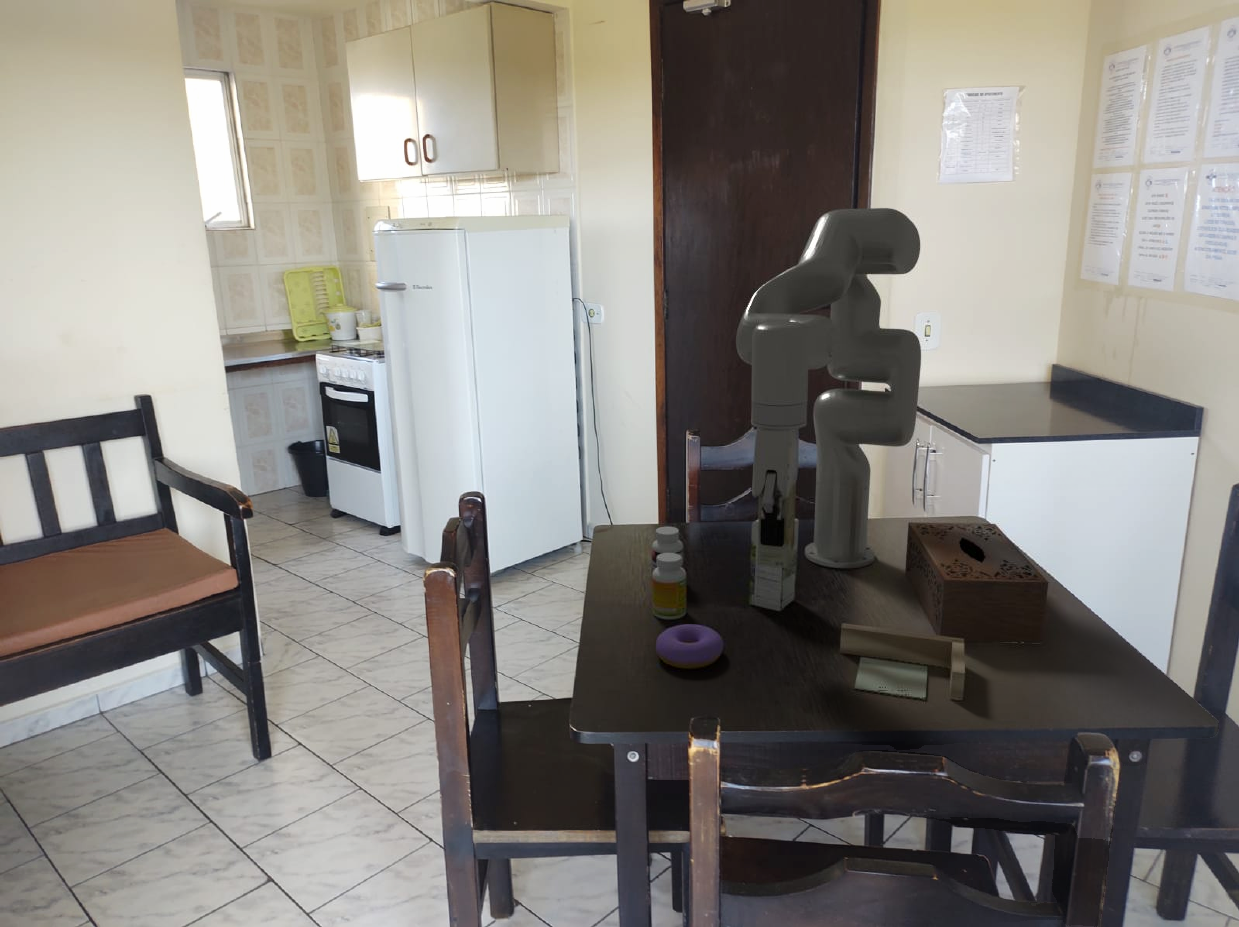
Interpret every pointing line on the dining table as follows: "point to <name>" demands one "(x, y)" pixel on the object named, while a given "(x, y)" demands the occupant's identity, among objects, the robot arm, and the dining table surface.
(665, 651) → the donut
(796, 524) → the syrup box
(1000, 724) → the dining table surface
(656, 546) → the pill bottle
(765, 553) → the skincare box
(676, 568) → the supplement bottle
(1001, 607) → the tissue box cover
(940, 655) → the corner arena
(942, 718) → the dining table surface
